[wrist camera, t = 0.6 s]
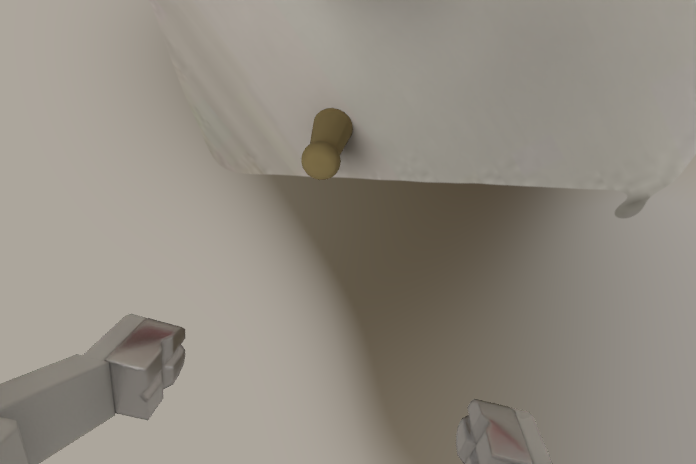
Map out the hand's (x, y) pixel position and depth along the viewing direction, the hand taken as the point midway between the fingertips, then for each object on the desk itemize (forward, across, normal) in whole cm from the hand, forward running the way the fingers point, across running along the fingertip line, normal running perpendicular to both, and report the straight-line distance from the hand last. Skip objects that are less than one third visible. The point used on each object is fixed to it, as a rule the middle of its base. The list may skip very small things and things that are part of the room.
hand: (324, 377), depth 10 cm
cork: (+49, +7, +2) cm, 49 cm away
